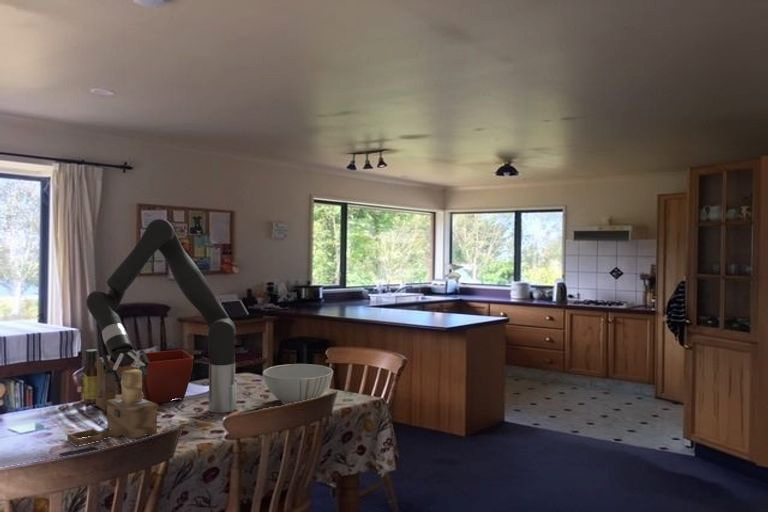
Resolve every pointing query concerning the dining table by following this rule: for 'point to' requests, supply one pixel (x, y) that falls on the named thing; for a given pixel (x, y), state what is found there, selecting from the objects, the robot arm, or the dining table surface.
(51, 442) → the dining table surface
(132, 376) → the tan cylinder
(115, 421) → the brown box with frame
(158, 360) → the plant pot
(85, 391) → the sauce bottle
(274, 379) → the decorative bowl
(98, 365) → the wooden block
